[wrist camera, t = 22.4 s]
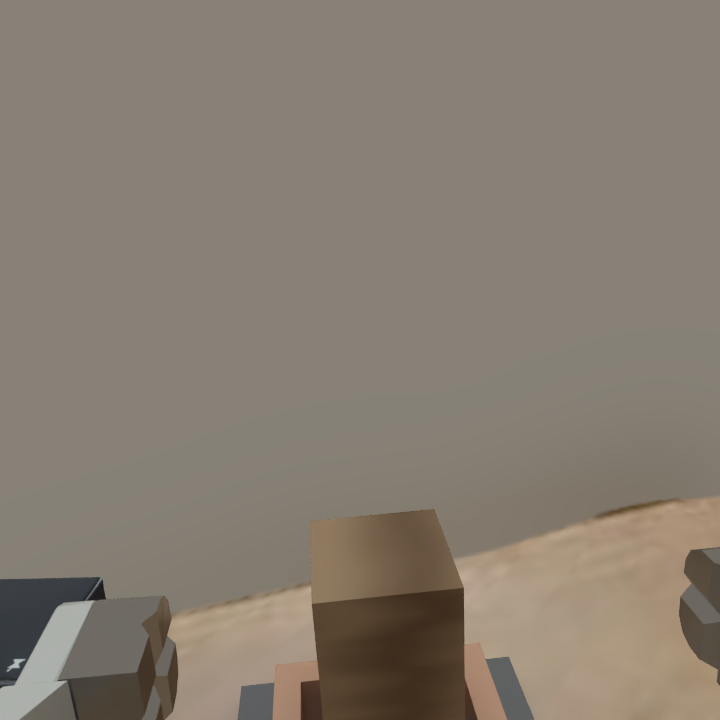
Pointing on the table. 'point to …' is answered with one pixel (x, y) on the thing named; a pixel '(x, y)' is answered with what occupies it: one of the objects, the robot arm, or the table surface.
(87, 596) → the small box
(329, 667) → the walnut block
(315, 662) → the dock
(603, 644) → the table surface
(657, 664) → the table surface
